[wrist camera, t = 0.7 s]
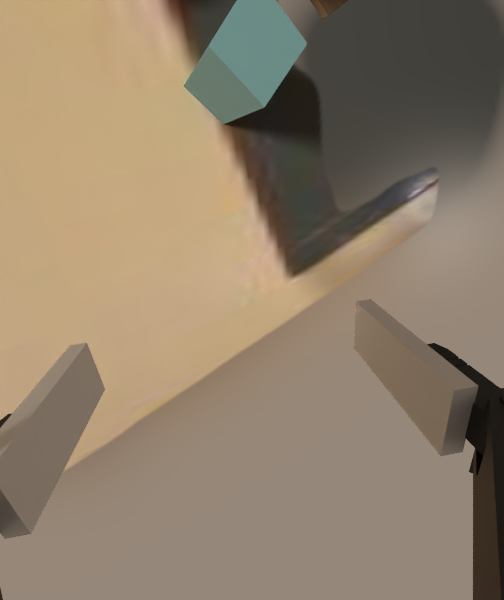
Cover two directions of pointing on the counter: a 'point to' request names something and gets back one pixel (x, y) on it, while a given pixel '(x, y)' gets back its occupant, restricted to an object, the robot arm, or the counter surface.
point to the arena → (327, 6)
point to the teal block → (246, 60)
